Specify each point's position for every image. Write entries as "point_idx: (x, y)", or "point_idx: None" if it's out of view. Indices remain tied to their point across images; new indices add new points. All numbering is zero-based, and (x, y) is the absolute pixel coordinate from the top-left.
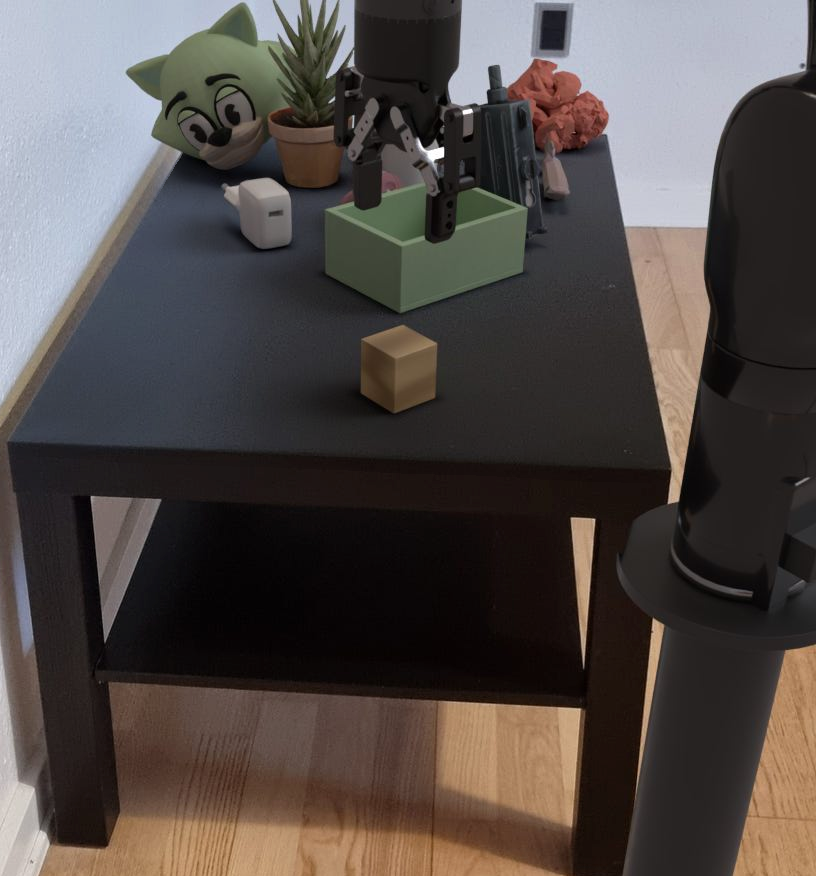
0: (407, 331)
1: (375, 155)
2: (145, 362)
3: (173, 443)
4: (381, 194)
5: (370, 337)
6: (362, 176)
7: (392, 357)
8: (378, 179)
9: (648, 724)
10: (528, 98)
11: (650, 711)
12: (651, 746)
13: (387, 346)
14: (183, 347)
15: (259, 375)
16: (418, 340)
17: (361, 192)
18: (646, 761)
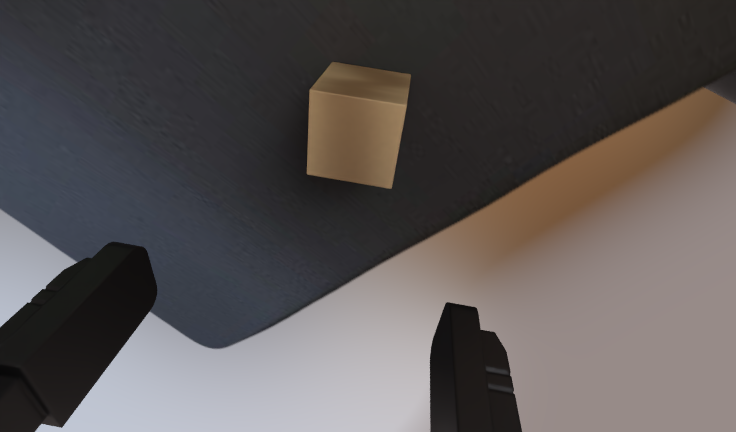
0: (335, 105)
1: (3, 402)
2: (124, 232)
3: (288, 306)
4: (120, 263)
5: (312, 162)
6: (89, 380)
7: (385, 187)
8: (86, 315)
9: (720, 87)
10: None
11: (728, 90)
12: (721, 95)
13: (354, 168)
14: (104, 187)
15: (212, 180)
16: (374, 119)
17: (124, 335)
18: (707, 87)
